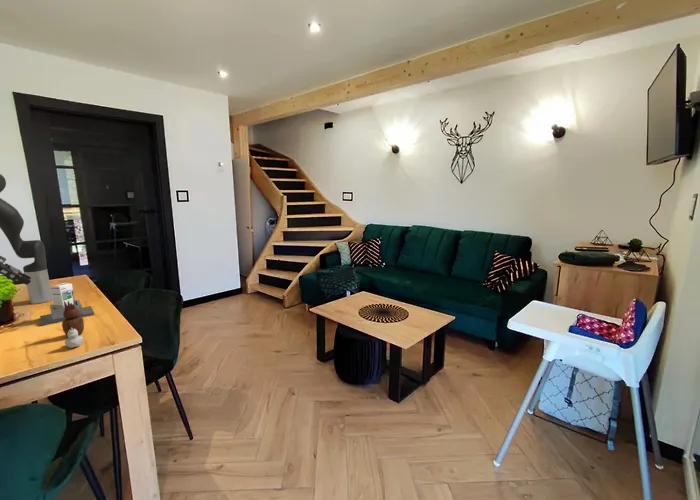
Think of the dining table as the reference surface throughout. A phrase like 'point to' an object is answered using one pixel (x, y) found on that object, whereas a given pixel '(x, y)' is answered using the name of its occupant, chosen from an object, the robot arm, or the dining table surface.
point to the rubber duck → (73, 339)
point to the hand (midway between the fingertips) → (29, 281)
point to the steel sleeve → (58, 314)
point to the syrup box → (62, 295)
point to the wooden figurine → (72, 319)
